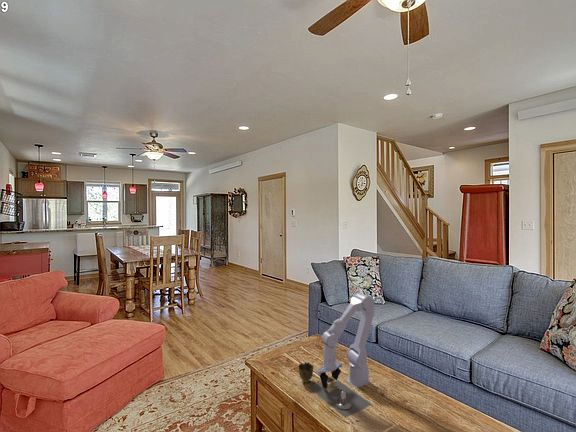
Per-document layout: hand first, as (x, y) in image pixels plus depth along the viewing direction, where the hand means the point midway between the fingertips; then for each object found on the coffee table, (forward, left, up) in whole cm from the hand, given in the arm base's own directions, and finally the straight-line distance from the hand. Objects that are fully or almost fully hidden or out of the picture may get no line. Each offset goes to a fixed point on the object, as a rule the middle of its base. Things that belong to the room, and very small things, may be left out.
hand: (329, 385), depth 145 cm
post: (+3, +13, -1) cm, 13 cm away
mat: (0, +6, -2) cm, 7 cm away
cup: (+6, -11, -2) cm, 13 cm away
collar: (0, 0, -1) cm, 1 cm away
